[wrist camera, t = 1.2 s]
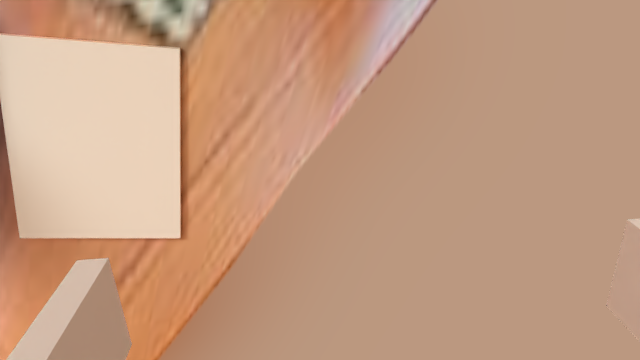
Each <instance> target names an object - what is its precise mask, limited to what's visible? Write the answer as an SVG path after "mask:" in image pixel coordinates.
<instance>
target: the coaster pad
mask: <svg viewBox="0 0 640 360" xmlns="http://www.w3.org/2000/svg"><path fill="white" fill-rule="evenodd" d="M0 101H1V108H2V116H3V123H4V130H5V137H6V144H7V151H8V158H9V165H10V173H11V180H12V187H13V194H14V201H15V208H16V215H17V223H18V230H19V237H20V238H180V237H181V48H180V47H167V46H155V45H142V44H130V43H117V42H105V41H92V40H80V39H67V38H55V37H42V36H30V35H17V34H5V33H0Z"/></svg>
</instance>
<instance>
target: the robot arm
mask: <svg viewBox="0 0 640 360" xmlns="http://www.w3.org/2000/svg"><path fill="white" fill-rule="evenodd" d="M606 306H607V307H608V308H609V309H610V311H611V312H612V313H613V314H614V315H615V316H616V317H617V318H618V319H619V320H620V321H621V322H622V323H623V324H624V326H626V328H627V329H628V330H629V331H630V332H631V333H632V334H633V335H634V336H635V337H636V338H637V339H638V340H639V342H640V219H629V220H627V223H626V227H625V231H624V236H623V239H622V244H621V248H620V252H619V256H618V260H617V264H616V268H615V273H614V276H613V280H612V285H611V289H610V293H609V297H608V301H607V305H606ZM131 345H132V343H131V339H130V336H129V332H128V328H127V324H126V321H125V317H124V313H123V310H122V306H121V302H120V299H119V295H118V291H117V287H116V284H115V280H114V276H113V273H112V269H111V265H110V262H109V258H102V259H88V260H77V261H76V262H75V264H74V265H73V267H72V268H71V269H70V271H69V272H68V274H67V275H66V276H65V278H64V279H63V281H62V282H61V283H60V285H59V286H58V288H57V289H56V290H55V292H54V293H53V295H52V296H51V297H50V299H49V300H48V302H47V303H46V305H45V306H44V307H43V309H42V310H41V312H40V313H39V314H38V316H37V317H36V319H35V320H34V321H33V323H32V324H31V326H30V327H29V328H28V330H27V331H26V333H25V334H24V335H23V337H22V338H21V340H20V341H19V342H18V344H17V345H16V347H15V348H14V349H13V351H12V352H11V354H10V355H9V356H8V358H7V359H6V360H126V357H127V355H128V352H129V350H130V348H131Z"/></svg>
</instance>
